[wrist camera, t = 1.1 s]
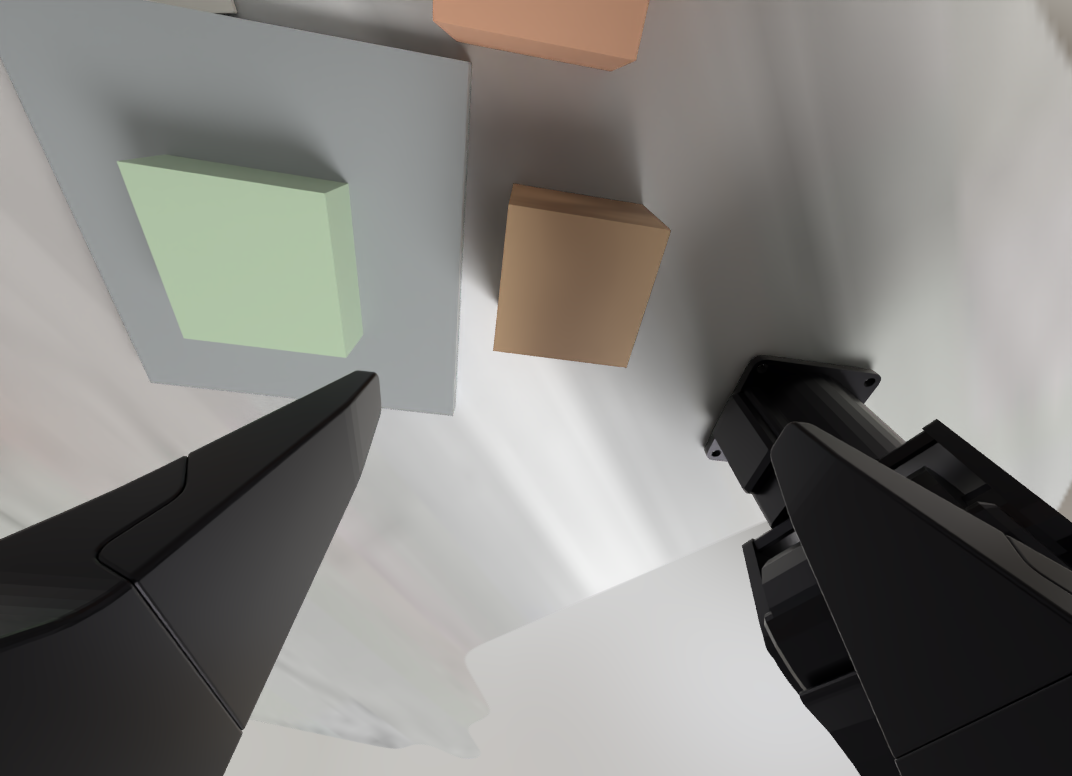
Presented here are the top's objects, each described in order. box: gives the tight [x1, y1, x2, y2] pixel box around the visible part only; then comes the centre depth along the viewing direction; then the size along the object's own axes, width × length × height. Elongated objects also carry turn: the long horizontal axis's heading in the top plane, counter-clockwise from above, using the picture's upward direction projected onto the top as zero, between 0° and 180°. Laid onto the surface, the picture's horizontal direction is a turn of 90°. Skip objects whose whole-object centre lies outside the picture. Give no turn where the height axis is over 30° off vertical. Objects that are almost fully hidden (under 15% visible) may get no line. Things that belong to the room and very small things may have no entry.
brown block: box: [493, 183, 671, 368], centre depth 15 cm, size 5×5×4 cm
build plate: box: [0, 0, 472, 416], centre depth 15 cm, size 14×14×3 cm
